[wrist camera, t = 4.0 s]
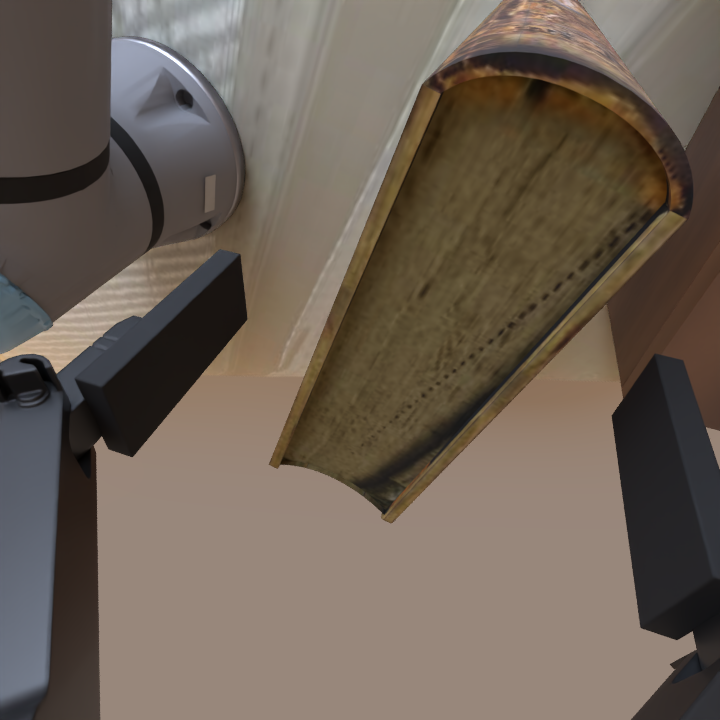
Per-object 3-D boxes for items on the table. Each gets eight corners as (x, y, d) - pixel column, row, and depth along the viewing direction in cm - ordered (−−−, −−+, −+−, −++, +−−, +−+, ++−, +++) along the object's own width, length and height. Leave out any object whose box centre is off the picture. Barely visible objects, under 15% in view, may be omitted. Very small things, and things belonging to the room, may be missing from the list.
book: (520, -32, 25) (455, -2, 7) (607, 13, 25) (754, 152, 8) (402, 220, 37) (264, 473, 19) (463, 251, 37) (384, 531, 19)
